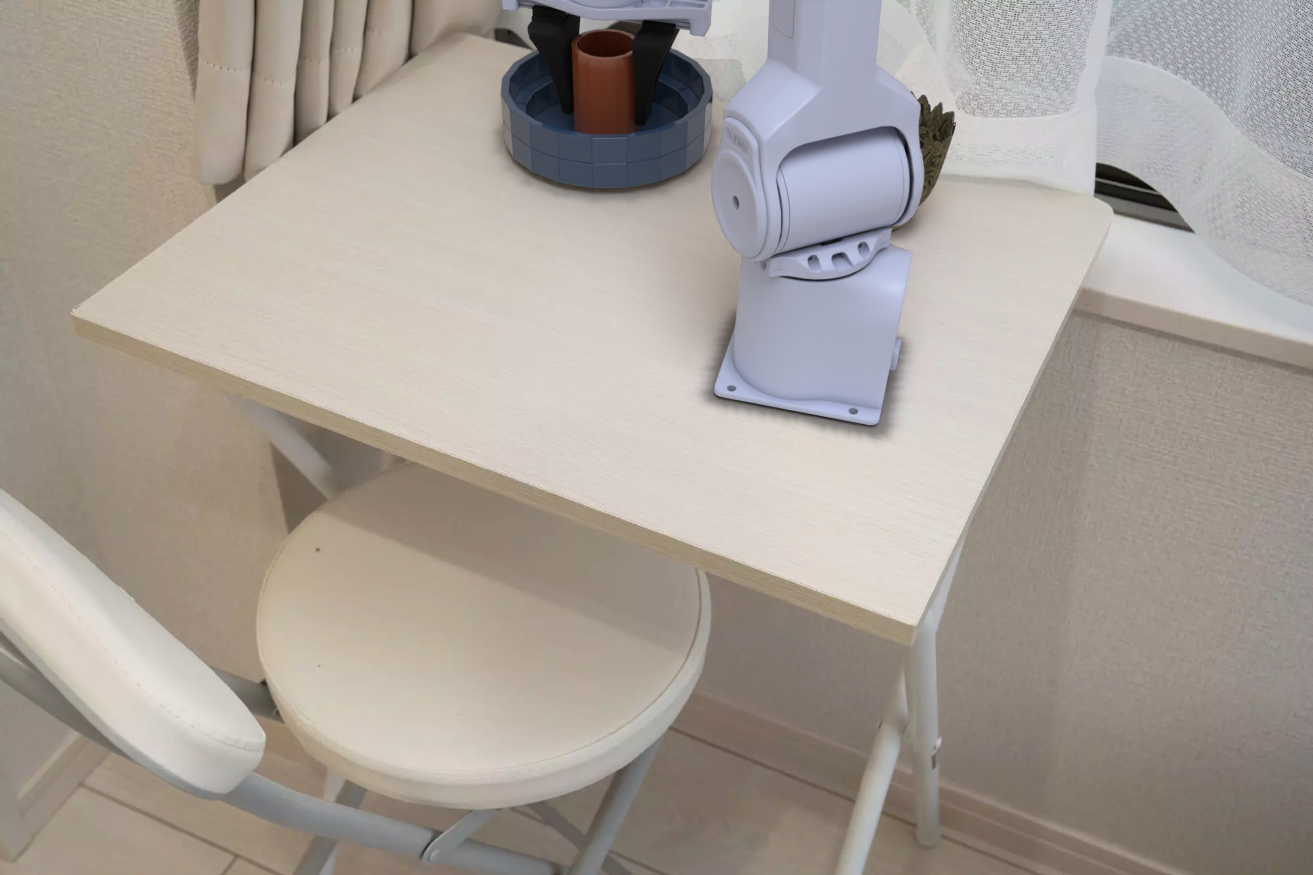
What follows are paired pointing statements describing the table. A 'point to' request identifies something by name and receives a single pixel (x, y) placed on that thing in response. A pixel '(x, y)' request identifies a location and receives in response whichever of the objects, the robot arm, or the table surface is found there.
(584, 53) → the cup
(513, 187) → the table surface
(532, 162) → the bowl
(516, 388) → the table surface
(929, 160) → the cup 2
